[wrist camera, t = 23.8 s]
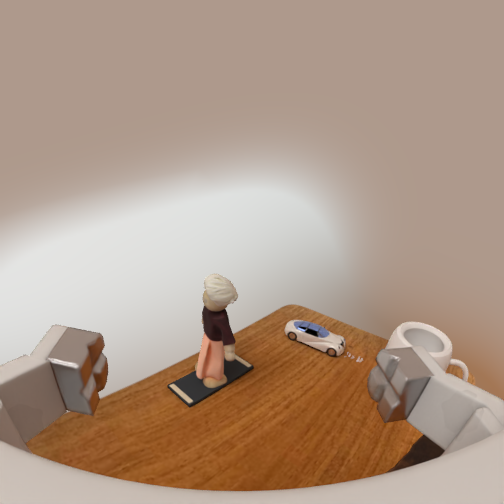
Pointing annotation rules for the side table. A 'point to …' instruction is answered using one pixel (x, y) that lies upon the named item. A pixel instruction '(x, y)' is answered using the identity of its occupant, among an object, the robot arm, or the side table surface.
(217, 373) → the grandmother figurine
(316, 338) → the toy car
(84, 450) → the side table surface
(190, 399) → the black flat block
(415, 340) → the mug
